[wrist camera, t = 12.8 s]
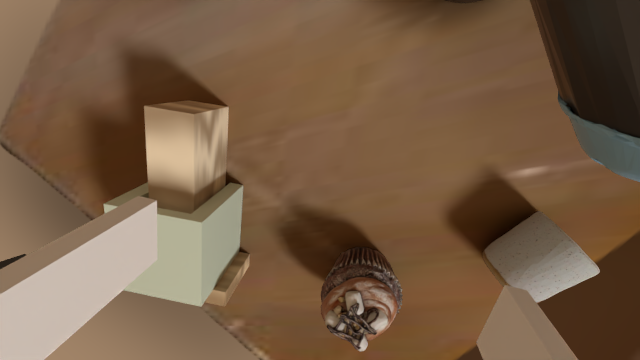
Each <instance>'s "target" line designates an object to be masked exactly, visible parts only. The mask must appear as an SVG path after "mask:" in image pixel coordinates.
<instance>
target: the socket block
mask: <svg viewBox="0 0 640 360" xmlns="http://www.w3.org/2000/svg"><path fill="white" fill-rule="evenodd" d="M137 196H141V197H145V198H149V192H148V182H147V183H145V184H143V185H141V186H139V187H137V188H135V189H133V190H131V191H129V192H127V193H125V194H123V195H121V196H119V197H117V198H114V199H112V200H110V201H108V202H106V203H104V212H105V213H107V212H109V211H111V210H113V209H115V208H117V207H118V206H120V205H122V204H124V203H126V202H128V201H130V200H132V199H133V198H135V197H137ZM242 198H243V185H240V184H235V183H229V184H228V185H227V186H225V187H224V188H223V189H222V190H220V191H219V192H218V193H217V194H215V195H214V196H213V197H212V198H210V199H209V200H208V201H207V202H205V203H204V204H203V205H202V206H200V207H199V208H198V209H197V210H195V211H194V212H193V213H192V214H189V213H183V212H178V211H173V210H168V209H162V208H157V260H156V261H155V262H154V263H153V264H152V265H151V266H150V267H148V268H147V269H146V270H145V271H144V272H143V273H142V274H141V275H139V276H138V277H137V278H136V279H135V280H134V281H133V282H131V283H130V284H129V285H128V286H127V287H126V288H125V289H124V290H125V291H130V292H135V293H139V294H144V295H149V296H154V297H159V298H163V299H168V300H173V301H177V302H182V303H186V304H191V305H196V306H202V305H203V303H204V302H205V300H206V299H207V298H208V296H209V295H210V293H211V292H212V290H213V289H214V288H215V286H216V285H217V283H218V282H219V280H220V279H221V277H222V276H223V275H224V273H225V272H226V270H227V269H228V267H229V266H230V265H231V263H232V262H233V260H234V259H235V257H236V256H237V254H238V253H239V249H240V232H241V215H242Z"/></svg>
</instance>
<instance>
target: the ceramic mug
mask: <svg viewBox="0 0 640 360" xmlns="http://www.w3.org/2000/svg"><path fill="white" fill-rule="evenodd" d="M483 260H484V262H485V263H486V265H487V267H488V268H489V269H490V271H491V272H492V274H493V275H494V276H495V277H496V279H497V280H498V281H499V282H500V284H501V285H502V286H503V287H504V286H505V285H507V286H511V287H515V288H519V289H523V290H527V291H528V292H529V294H530V295H531V296H532V298H533V299H534V300H535V302H539V301H542V300H545V299H547V298H549V297H551V296H553V295H555V294H556V293H558V292H560V291H562V290H565V289H567V288H569V287H571V286H573V285H575V284H578V283H580V282H582V281H584V280H586V279H588V278H591V277H593V276H595V275H597V274H598V273H599V272H600V270H599V268H598V267H597V265H596V264H595V263H594V262H593V261H592V260H591V259H590V258H589V257H588V256H587V255H586V254H585V252H584V251H583V250H582V249H581V248H580V247H579V246H578V245H577V244H576V243H575V242H574V241H573V240H572V239H571V238H570V237H569V236H568V235H567V234H565V232H564V231H563V230H562V229H561V228H559V227H558V226H557V225H556V224H555V223H554V222H553V221H552V220H551V219H549V218H548V217H547V216H546V215H545V214H543V213H542V212H540V211H538V212H536V213H534V214H533V215H532V216H530V217H529V218H527V219H526V220H524V221H523V222H521V223H520V224H518V225H517V226H515V227H514V228H513V229H511V230H510V231H508V232H507V233H506V234H504V235H503V236H501V237H500V238H498V239H496V240H495V241H494V242H492V243H491V244H490V245H489V246H488V247H487V248H486V249H485V250H484V251H483Z"/></svg>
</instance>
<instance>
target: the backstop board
mask: <svg viewBox="0 0 640 360" xmlns="http://www.w3.org/2000/svg"><path fill="white" fill-rule="evenodd" d="M249 258H250V254H248V253H243V252H239V253H238V254H237V256H236V257H235V259H234V260H233V262H232V263H231V265H230V266H229V267H228V269H227V270H226V272H225V273H224V275H223V276H222V277H221V279H220V280H219V282H218V283H217V285H216V286H215V288H214V289H213V290H212V292H211V293H210V295H209V296H208V298H207V299H206V300H205V302H206V303H211V304H216V305H221V306H225V305H226V304H227V302H228V300H229V299H230V297H231V295H232V294H233V292H234V290H235V289H236V287H237V285H238V284H239V282H240V280H241V279H242V277H243V275H244V273H245V272H246V270H247V268H248V267H249Z"/></svg>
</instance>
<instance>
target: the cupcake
mask: <svg viewBox="0 0 640 360" xmlns="http://www.w3.org/2000/svg"><path fill="white" fill-rule="evenodd" d="M401 291H402V288H401V286H400V283H399V281H398V279H397V277H396V276H395V274H394V272H393V270H392V268H391V266H390V263H389V262H388V261H387V260H386V258H385V257H384V256H383V255H382V254H381V253H380V252H378V251H376V250H372V249H371V248H367V247H355V248H353V249H348V250H347V251H346V252H342V253H341V254H340V257H339V258H337V260H336V262H335V264H334V266H333V268H332V270H331V271H330V273H329V274H328V276H327V277H326V279H325V282H324V283H323V286H322V291H321V300H322V305H321V314H322V317H323V319H324V321H325V323H326V325H327V328H328V329H329V330H330V332H331V333H333V334H335V335H336V336H338V337H340V338H341V339H344V340H347V341H348V342H351V344H352V345H353V346H354V347H355V349H356V350H359V351H360V352H361V351H364V350H365V349H366V348H367V345H368V343H367V341H369V340H372V339H374V338H376V337H378V336H379V335H381V334H382V333H383V332H384V331H385V330H386V329H387V328H388V327H389V326H390V324H391V323H392V321H393V320H394V319H395V315H396V313H399V311H398V309H401V307H400V305H402V303H401V301H402V296H403V295H402V293H401Z"/></svg>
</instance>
